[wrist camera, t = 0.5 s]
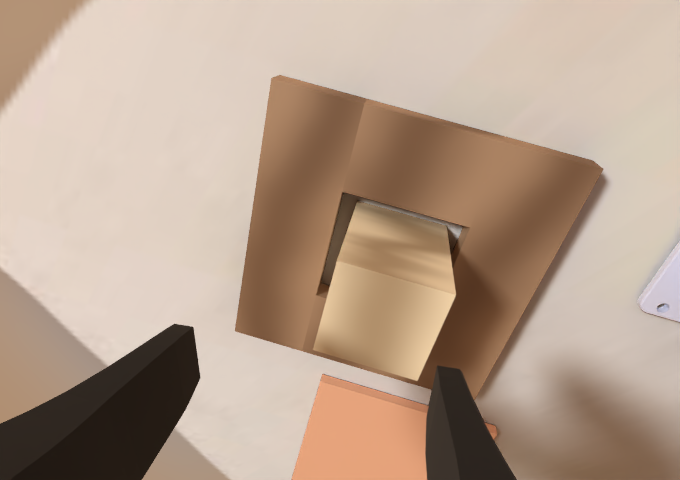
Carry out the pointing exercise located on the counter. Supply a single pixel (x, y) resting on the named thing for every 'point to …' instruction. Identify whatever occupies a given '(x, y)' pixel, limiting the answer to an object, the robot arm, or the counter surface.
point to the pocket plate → (411, 194)
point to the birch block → (388, 292)
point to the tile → (363, 435)
